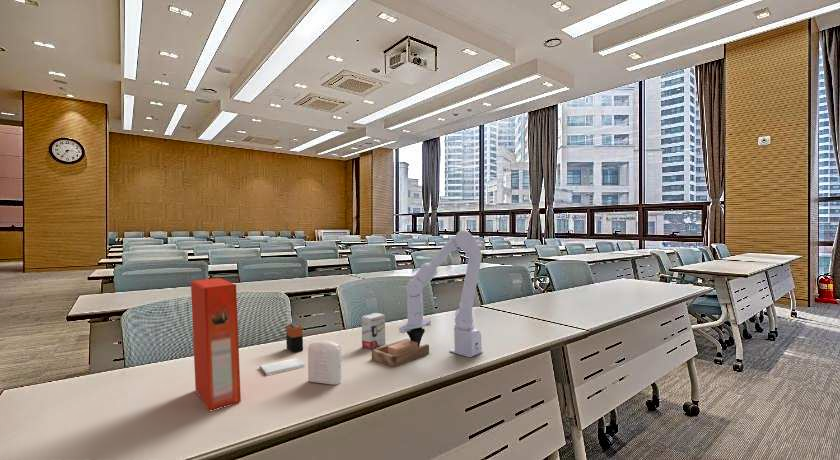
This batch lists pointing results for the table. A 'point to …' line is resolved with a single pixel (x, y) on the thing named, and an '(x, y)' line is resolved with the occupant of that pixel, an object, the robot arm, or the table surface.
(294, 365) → the hard drive
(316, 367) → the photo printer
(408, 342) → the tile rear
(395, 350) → the tile front
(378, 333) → the ink box
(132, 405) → the table surface
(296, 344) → the battery
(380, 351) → the tray
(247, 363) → the table surface
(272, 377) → the table surface
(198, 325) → the file binder
